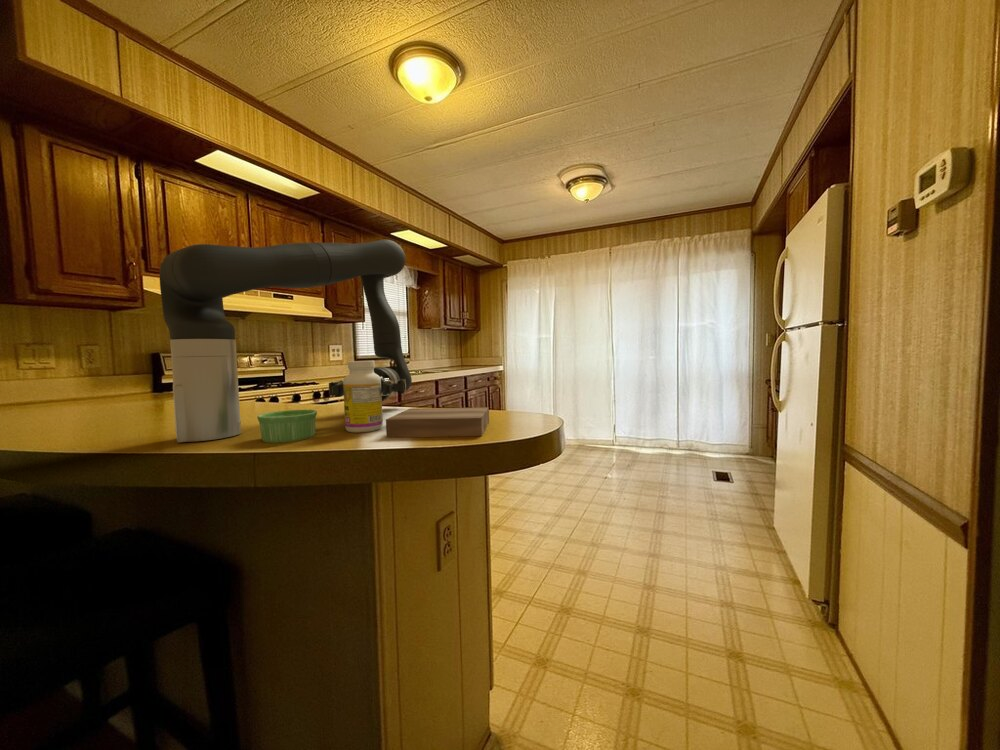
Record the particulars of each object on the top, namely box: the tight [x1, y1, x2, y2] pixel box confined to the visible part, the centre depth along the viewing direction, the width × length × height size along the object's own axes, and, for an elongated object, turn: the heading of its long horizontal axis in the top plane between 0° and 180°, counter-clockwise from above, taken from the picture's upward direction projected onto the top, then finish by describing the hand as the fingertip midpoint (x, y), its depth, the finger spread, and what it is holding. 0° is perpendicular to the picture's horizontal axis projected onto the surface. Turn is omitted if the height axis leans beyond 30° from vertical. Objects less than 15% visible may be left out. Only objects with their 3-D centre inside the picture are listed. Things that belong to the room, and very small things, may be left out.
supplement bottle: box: [342, 360, 384, 434], centre depth 73 cm, size 7×7×13 cm
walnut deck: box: [385, 406, 490, 438], centre depth 71 cm, size 13×16×3 cm
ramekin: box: [257, 409, 318, 444], centre depth 67 cm, size 9×9×4 cm
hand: (360, 390), depth 71 cm, fingers open, 8 cm apart
